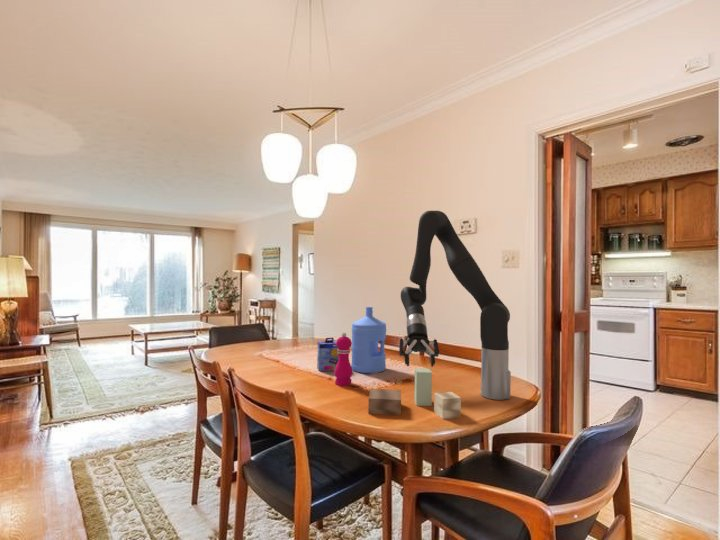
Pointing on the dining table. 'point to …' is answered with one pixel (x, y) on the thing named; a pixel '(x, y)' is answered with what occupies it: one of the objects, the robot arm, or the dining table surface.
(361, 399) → the dining table surface
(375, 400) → the walnut block
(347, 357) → the pepper mill
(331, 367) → the ink cartridge box
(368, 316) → the water jug
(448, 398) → the maple cube
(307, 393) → the dining table surface
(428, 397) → the sage block
